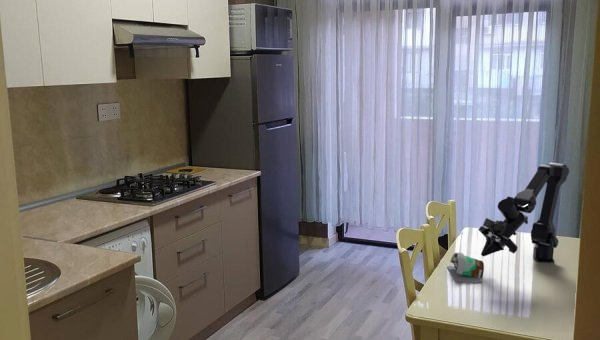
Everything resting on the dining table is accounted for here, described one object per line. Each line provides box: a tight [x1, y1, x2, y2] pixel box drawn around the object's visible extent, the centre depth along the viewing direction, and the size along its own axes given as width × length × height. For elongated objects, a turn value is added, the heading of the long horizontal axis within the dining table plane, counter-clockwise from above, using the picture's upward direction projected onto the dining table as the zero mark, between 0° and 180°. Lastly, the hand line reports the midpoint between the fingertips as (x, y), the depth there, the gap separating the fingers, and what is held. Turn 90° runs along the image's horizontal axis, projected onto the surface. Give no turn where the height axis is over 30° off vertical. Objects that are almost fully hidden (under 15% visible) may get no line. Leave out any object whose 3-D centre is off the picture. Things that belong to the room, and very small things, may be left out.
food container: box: [449, 252, 485, 279], centre depth 213 cm, size 12×6×10 cm
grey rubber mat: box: [446, 265, 483, 284], centre depth 213 cm, size 10×16×1 cm, turn 176°
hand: (482, 255), depth 212 cm, fingers closed
